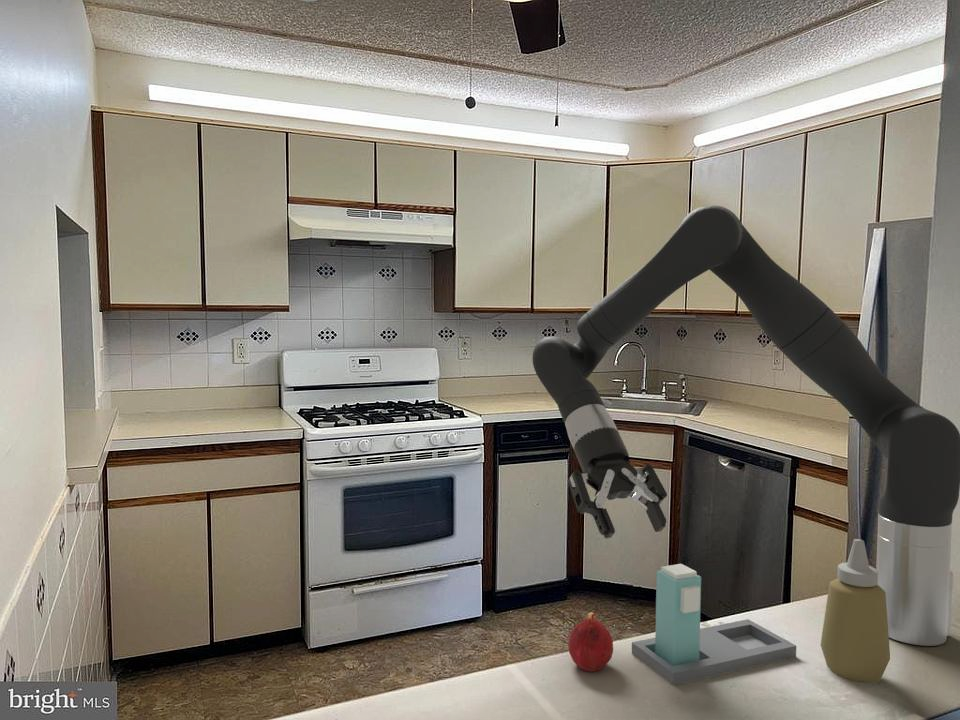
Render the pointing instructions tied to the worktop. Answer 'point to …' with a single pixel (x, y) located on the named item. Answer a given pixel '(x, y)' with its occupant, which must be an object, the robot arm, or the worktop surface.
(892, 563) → the robot arm
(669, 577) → the plug
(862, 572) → the squeeze bottle
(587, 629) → the onion
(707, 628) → the panel
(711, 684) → the worktop surface
